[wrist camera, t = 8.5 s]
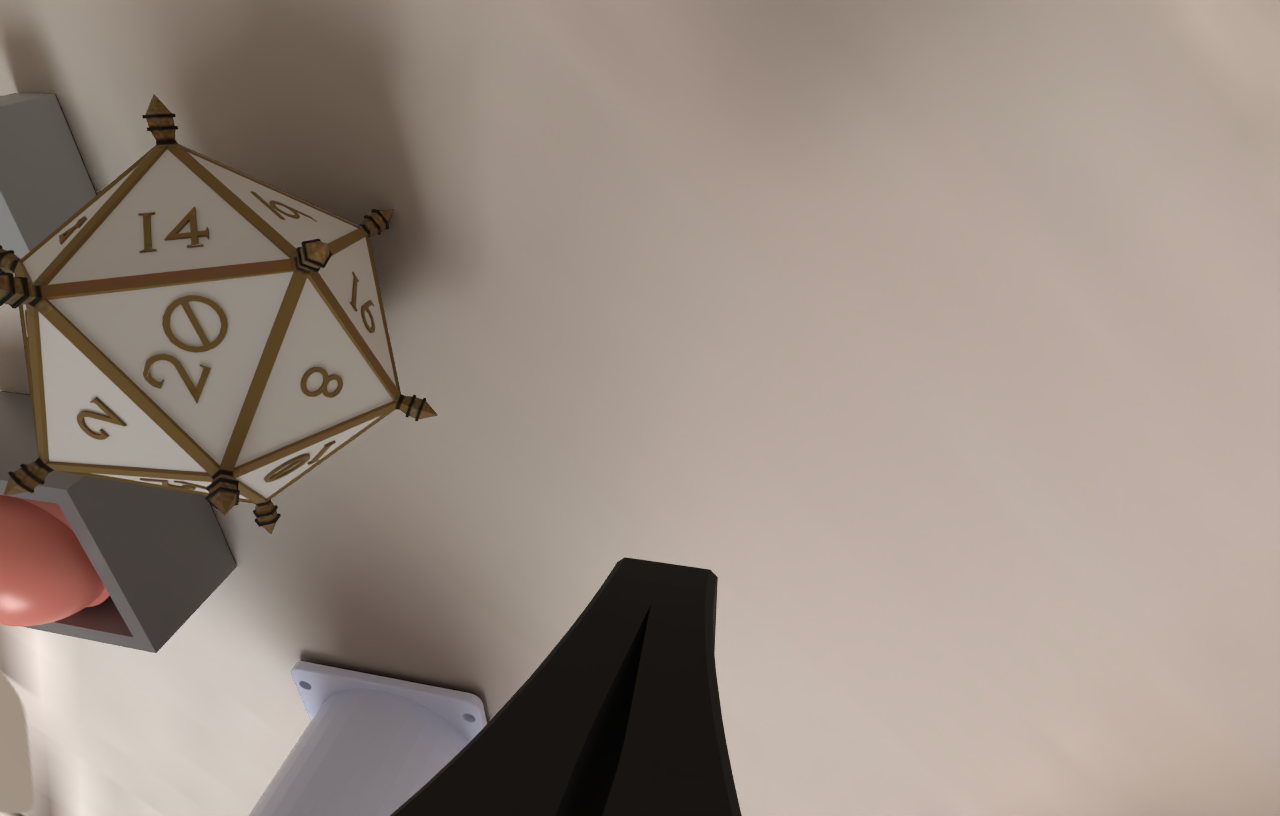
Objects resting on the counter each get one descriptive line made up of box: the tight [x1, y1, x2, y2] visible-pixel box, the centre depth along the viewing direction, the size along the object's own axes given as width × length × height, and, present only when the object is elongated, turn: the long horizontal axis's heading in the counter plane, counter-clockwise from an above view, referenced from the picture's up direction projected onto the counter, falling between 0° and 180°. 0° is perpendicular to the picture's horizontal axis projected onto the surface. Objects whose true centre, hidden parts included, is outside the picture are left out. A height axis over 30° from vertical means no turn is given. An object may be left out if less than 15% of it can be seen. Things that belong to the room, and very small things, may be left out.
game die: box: [0, 95, 437, 534], centre depth 17 cm, size 9×8×10 cm
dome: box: [0, 495, 110, 626], centre depth 24 cm, size 5×5×5 cm
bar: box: [0, 93, 96, 277], centre depth 21 cm, size 9×1×2 cm, turn 2°
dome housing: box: [0, 392, 237, 653], centre depth 25 cm, size 7×7×4 cm
